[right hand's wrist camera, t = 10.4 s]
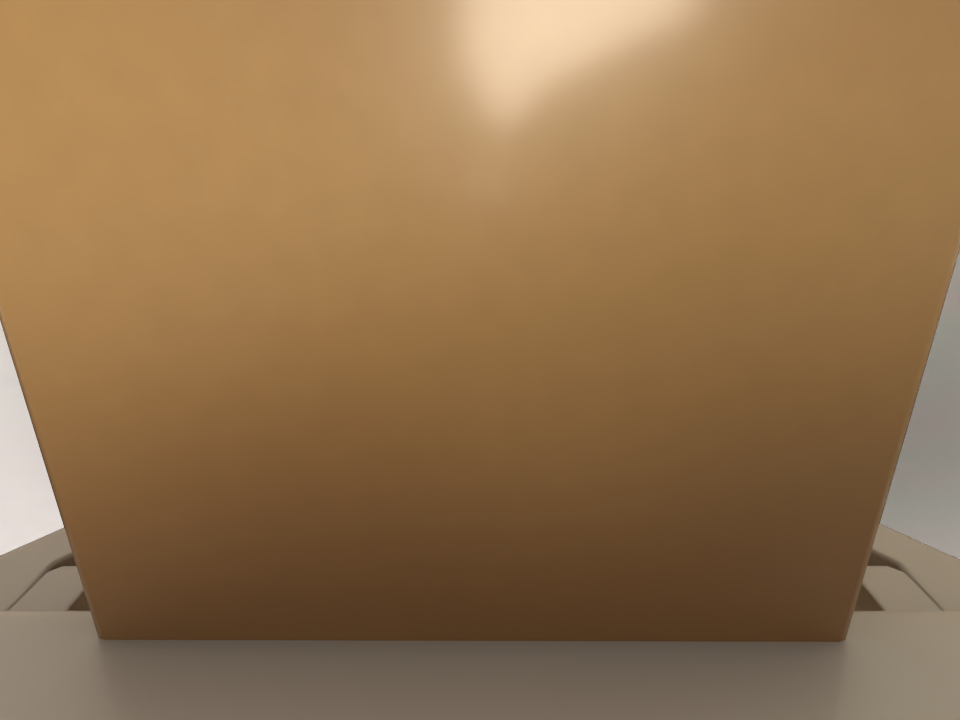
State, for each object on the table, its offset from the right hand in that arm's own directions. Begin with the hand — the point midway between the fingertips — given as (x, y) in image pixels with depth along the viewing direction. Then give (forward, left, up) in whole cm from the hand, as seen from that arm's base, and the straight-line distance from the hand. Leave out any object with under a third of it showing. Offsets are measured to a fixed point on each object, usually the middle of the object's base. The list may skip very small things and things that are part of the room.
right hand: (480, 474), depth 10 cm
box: (+8, 0, -7) cm, 11 cm away
